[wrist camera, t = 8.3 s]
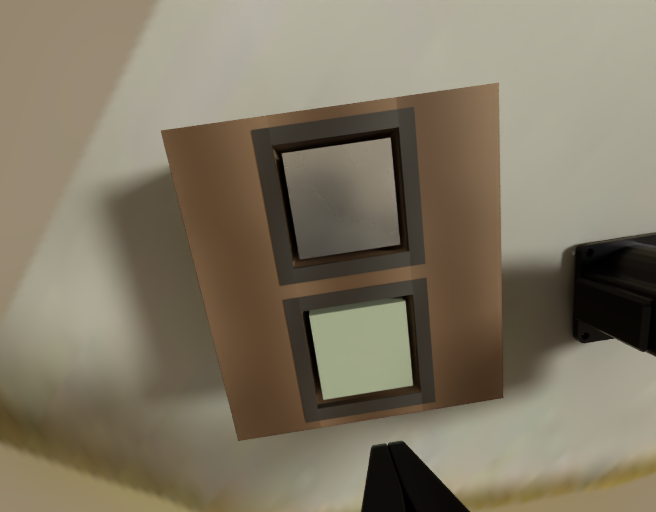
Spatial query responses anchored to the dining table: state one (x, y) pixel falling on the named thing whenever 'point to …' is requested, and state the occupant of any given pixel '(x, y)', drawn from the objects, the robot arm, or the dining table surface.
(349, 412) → the walnut block
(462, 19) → the dining table surface
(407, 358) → the sage peg
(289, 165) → the steel peg
